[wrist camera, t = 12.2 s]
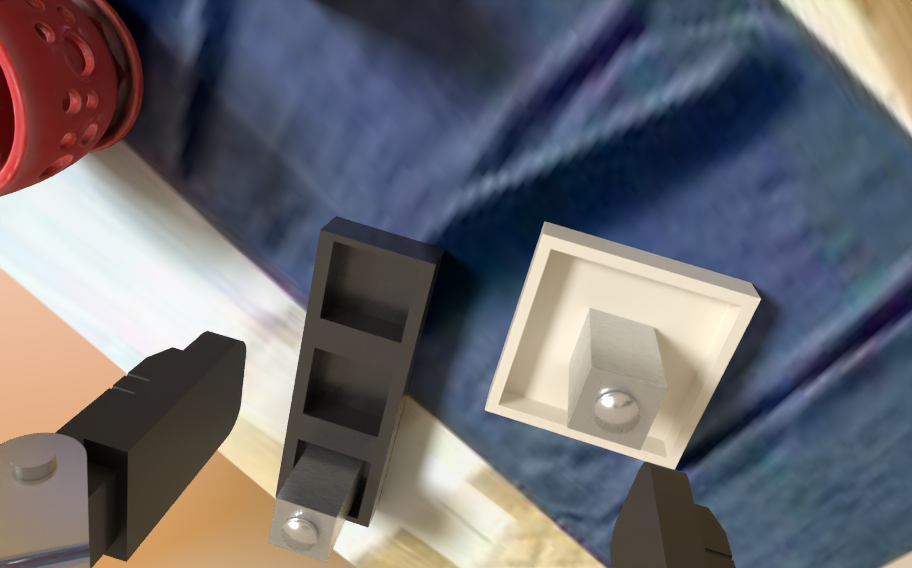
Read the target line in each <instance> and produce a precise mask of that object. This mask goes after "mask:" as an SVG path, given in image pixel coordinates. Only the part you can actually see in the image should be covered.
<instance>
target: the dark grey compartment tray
mask: <svg viewBox="0 0 912 568" xmlns="http://www.w3.org/2000/svg"><path fill="white" fill-rule="evenodd" d="M443 253H444V249H442V248H439V247H435V246H432V245H429V244H426V243H422V242H419V241H416V240H412V239H409V238H406V237H402V236H399V235H396V234H392V233H389V232H386V231H383V230H379V229H376V228H373V227H369V226H366V225H363V224H359V223H356V222H353V221H349V220H346V219H343V218H340V217H335V218H334V219H333V220H331V221H330V222H329V223H328V224H327V225H326V226H324V227H323V228H322V229H321V231H320V237H319V243H318V248H317V254H316V260H315V266H314V272H313V278H312V284H311V290H310V296H309V302H308V308H307V314H306V320H305V325H304V331H303V337H302V343H301V349H300V355H299V361H298V367H297V373H296V379H295V385H294V391H293V396H292V402H291V408H290V414H289V420H288V426H287V432H286V438H285V444H284V450H283V456H282V462H281V467H280V473H279V479H278V485H277V491H276V497H277V495H278V494H279V492H280V490H281V489H282V487H283V485H284V484H285V482H286V481H287V479H288V477H289V476H290V474H291V473H292V471H293V469H294V468H295V466H296V464H297V463H298V461H299V460H300V458H301V456H302V455H303V453H304V452H305V450H306V448H307V447H308V445H309V443H312V444H315V445H318V446H321V447H324V448H327V449H331V450H334V451H337V452H340V453H343V454H346V455H349V456H352V457H355V458H358V459H361V460H364V461H367V462H366V466H365V470H364V474H363V478H362V482H361V487H360V490H359V492H358V494H357V496H356V498H355V501H354V503H353V505H352V507H351V509H350V512H349V514H348V516H347V518H346V520H347V521H350V522H353V523H356V524H359V525H362V526H365V527H369V524H370V522H371V519H372V517H373V514H374V512H375V510H376V507H377V505H378V502H379V499H380V495H381V491H382V487H383V483H384V479H385V476H386V472H387V468H388V464H389V460H390V456H391V453H392V449H393V445H394V441H395V437H396V433H397V430H398V426H399V422H400V418H401V414H402V410H403V407H404V403H405V399H406V395H407V391H408V387H409V384H410V380H411V376H412V372H413V368H414V364H415V361H416V357H417V353H418V349H419V345H420V341H421V338H422V334H423V330H424V326H425V322H426V318H427V315H428V311H429V307H430V303H431V299H432V295H433V292H434V288H435V284H436V280H437V276H438V272H439V269H440V265H441V261H442V257H443Z"/></svg>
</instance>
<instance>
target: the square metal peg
mask: <svg viewBox="0 0 912 568" xmlns="http://www.w3.org/2000/svg"><path fill="white" fill-rule="evenodd" d="M366 462H367V461H364V460H361V459H358V458H355V457H352V456H349V455H346V454H343V453H340V452H337V451H334V450H331V449H327V448H324V447H321V446H318V445H315V444H312V443H309V445H308V447H307V448H306V450H305V452H304V453H303V455H302V456H301V458H300V460H299V461H298V463H297V464H296V466H295V468H294V469H293V471H292V473H291V474H290V476H289V477H288V479H287V481H286V482H285V484H284V485H283V487H282V489H281V490H280V492H279V494H278V495H277V497H276V500H275V506H274V512H273V518H272V524H271V530H270V536H269V541H268V543H269V544H273V545H275V546H278V547H281V548H284V549H287V550H290V551H294V552H296V553H299V554H302V555H305V556H308V557H311V558H314V559H317V560H320V561H323V562H327V560H328V558H329V555H330V553H331V551H332V549H333V547H334V544H335V542H336V540H337V538H338V536H339V533H340V531H341V529H342V527H343V525H344V523H345V520H346V518H347V516H348V514H349V512H350V509H351V507H352V505H353V503H354V501H355V498H356V496H357V494H358V492H359V490H360V487H361V482H362V478H363V474H364V470H365V466H366Z"/></svg>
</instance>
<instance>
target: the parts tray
mask: <svg viewBox="0 0 912 568" xmlns="http://www.w3.org/2000/svg"><path fill="white" fill-rule="evenodd" d="M760 300H761V298H760V296H759V295H758V293H757V291H756V290H755V288H754V287H753V285H752V283H750V282H747V281H744V280H740V279H737V278H734V277H730V276H727V275H723V274H720V273H717V272H713V271H710V270H707V269H703V268H700V267H697V266H693V265H690V264H686V263H683V262H680V261H676V260H673V259H670V258H666V257H663V256H660V255H656V254H653V253H649V252H646V251H643V250H639V249H636V248H633V247H629V246H626V245H623V244H619V243H616V242H612V241H609V240H606V239H602V238H599V237H596V236H592V235H589V234H585V233H582V232H579V231H575V230H572V229H569V228H565V227H562V226H559V225H555V224H552V223H548V222H544V225H543V228H542V231H541V234H540V237H539V240H538V243H537V246H536V249H535V252H534V255H533V259H532V262H531V265H530V268H529V271H528V274H527V277H526V280H525V283H524V286H523V289H522V292H521V295H520V298H519V301H518V304H517V307H516V311H515V314H514V317H513V320H512V323H511V326H510V329H509V332H508V335H507V338H506V341H505V344H504V347H503V350H502V353H501V356H500V360H499V363H498V366H497V369H496V372H495V375H494V378H493V381H492V384H491V387H490V390H489V394H488V398H487V403H486V407H485V410H486V411H489V412H492V413H495V414H498V415H502V416H505V417H508V418H511V419H514V420H517V421H520V422H524V423H527V424H530V425H533V426H536V427H539V428H543V429H546V430H549V431H552V432H555V433H558V434H562V435H565V436H568V437H571V438H574V439H577V440H581V441H584V442H587V443H590V444H593V445H596V446H599V447H603V448H606V449H609V450H612V451H615V452H618V453H622V454H625V455H628V456H631V457H634V458H637V459H641V460H644V461H647V462H650V463H653V464H657V465H660V466H663V467H667V468H670V469H674V470H675V468H676V466H677V464H678V462H679V460H680V458H681V456H682V454H683V452H684V450H685V448H686V446H687V444H688V442H689V440H690V438H691V436H692V434H693V432H694V430H695V428H696V426H697V424H698V422H699V420H700V418H701V416H702V414H703V412H704V411H705V409H706V407H707V405H708V403H709V401H710V399H711V397H712V395H713V393H714V391H715V389H716V387H717V385H718V383H719V381H720V379H721V377H722V375H723V373H724V371H725V369H726V367H727V365H728V363H729V361H730V359H731V357H732V355H733V353H734V351H735V350H736V348H737V346H738V344H739V342H740V340H741V338H742V336H743V334H744V332H745V330H746V328H747V326H748V324H749V322H750V320H751V318H752V316H753V314H754V312H755V310H756V308H757V306H758V304H759V302H760ZM589 308H593V309H596V310H600V311H603V312H606V313H610V314H613V315H616V316H620V317H623V318H626V319H630V320H633V321H636V322H640V323H643V324H646V325H650V326H653V327H654V330H655V334H656V338H657V343H658V347H659V352H660V356H661V360H662V365H663V369H664V374H665V378H666V382H667V387H668V391H667V393H666V396H665V398H664V400H663V402H662V404H661V406H660V409H659V411H658V413H657V415H656V417H655V419H654V421H653V424H652V426H651V428H650V430H649V432H648V434H647V437H646V439H645V441H644V443H643V445H642V447H641V450H636V449H633V448H630V447H627V446H624V445H620V444H617V443H614V442H611V441H607V440H604V439H601V438H598V437H595V436H591V435H588V434H585V433H582V432H579V431H575V430H572V429H569V428H567V418H568V386H569V361H570V359H571V356H572V353H573V351H574V348H575V345H576V343H577V340H578V337H579V335H580V332H581V329H582V327H583V324H584V321H585V319H586V316H587V313H588V311H589Z"/></svg>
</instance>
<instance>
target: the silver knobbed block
mask: <svg viewBox="0 0 912 568" xmlns="http://www.w3.org/2000/svg"><path fill="white" fill-rule="evenodd" d="M667 391H668V387H667V382H666V378H665V374H664V369H663V365H662V360H661V356H660V352H659V347H658V343H657V338H656V334H655V330H654V327H653V326H650V325H646V324H643V323H640V322H636V321H633V320H630V319H626V318H623V317H620V316H616V315H613V314H610V313H606V312H603V311H600V310H596V309H593V308H589V311H588V313H587V316H586V319H585V321H584V324H583V327H582V329H581V332H580V335H579V337H578V340H577V343H576V345H575V348H574V351H573V353H572V356H571V359H570V361H569V386H568V418H567V428H569V429H572V430H575V431H579V432H582V433H585V434H588V435H591V436H595V437H598V438H601V439H604V440H607V441H611V442H614V443H617V444H620V445H624V446H627V447H630V448H633V449H636V450H641V447H642V445H643V443H644V441H645V439H646V437H647V434H648V432H649V430H650V428H651V426H652V424H653V421H654V419H655V417H656V415H657V413H658V411H659V409H660V406H661V404H662V402H663V400H664V398H665V396H666V393H667Z"/></svg>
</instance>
